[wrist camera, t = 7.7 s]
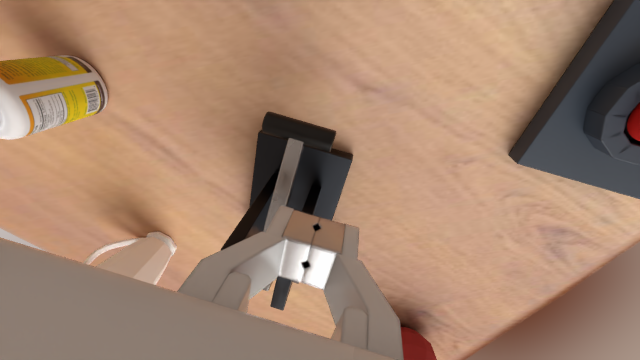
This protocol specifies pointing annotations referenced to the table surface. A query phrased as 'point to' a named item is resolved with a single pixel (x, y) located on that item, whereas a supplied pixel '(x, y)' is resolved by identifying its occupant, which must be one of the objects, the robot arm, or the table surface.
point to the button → (634, 123)
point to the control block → (593, 110)
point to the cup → (138, 257)
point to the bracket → (292, 192)
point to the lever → (292, 154)
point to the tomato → (415, 346)
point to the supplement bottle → (47, 94)
